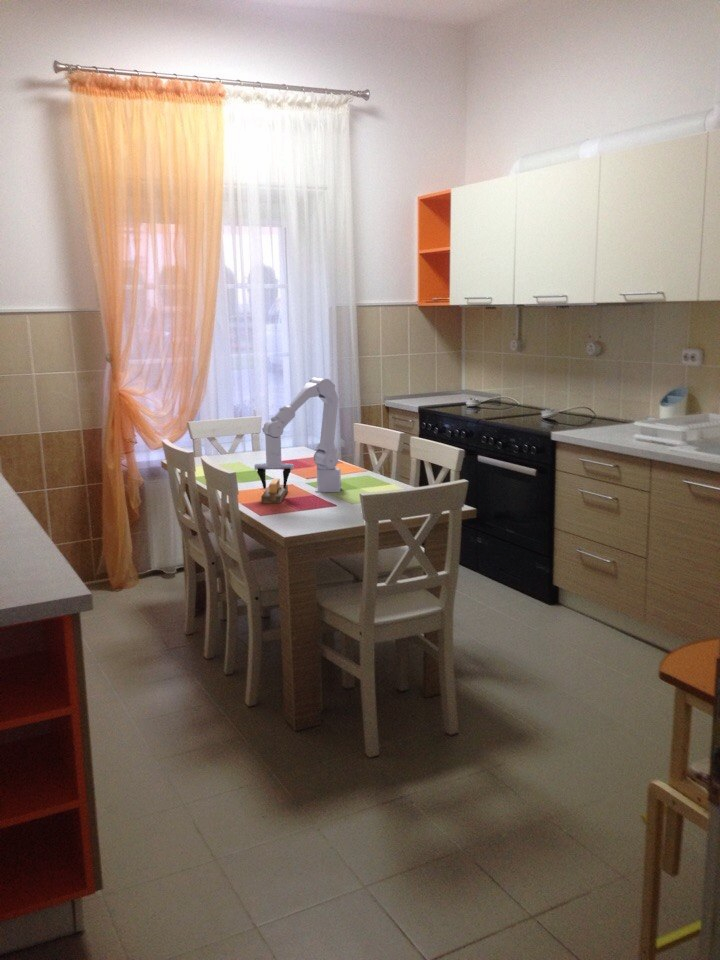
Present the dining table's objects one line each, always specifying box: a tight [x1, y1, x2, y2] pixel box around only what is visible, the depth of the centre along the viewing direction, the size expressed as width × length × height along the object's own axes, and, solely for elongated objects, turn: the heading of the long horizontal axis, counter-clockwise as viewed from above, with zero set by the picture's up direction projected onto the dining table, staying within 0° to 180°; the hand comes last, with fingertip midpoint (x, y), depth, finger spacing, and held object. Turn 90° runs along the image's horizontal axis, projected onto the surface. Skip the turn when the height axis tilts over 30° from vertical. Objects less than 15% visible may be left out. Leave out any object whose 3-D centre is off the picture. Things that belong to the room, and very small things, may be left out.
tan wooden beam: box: [268, 478, 281, 494], centre depth 313 cm, size 2×10×6 cm, turn 177°
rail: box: [260, 484, 289, 504], centre depth 314 cm, size 7×20×2 cm, turn 177°
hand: (274, 488), depth 313 cm, fingers open, 7 cm apart
